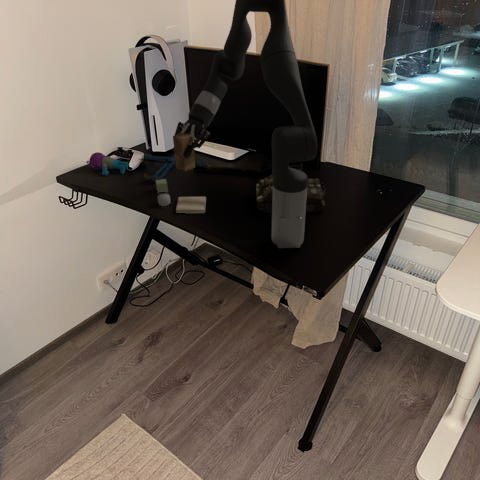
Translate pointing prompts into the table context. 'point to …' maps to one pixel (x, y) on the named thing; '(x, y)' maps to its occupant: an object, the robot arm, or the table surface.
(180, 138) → the walnut post
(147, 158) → the toy character
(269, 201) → the model tank
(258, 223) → the table surface
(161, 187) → the sage cube
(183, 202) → the birch coaster
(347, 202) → the table surface
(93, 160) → the toy
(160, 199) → the grey rubber puck
